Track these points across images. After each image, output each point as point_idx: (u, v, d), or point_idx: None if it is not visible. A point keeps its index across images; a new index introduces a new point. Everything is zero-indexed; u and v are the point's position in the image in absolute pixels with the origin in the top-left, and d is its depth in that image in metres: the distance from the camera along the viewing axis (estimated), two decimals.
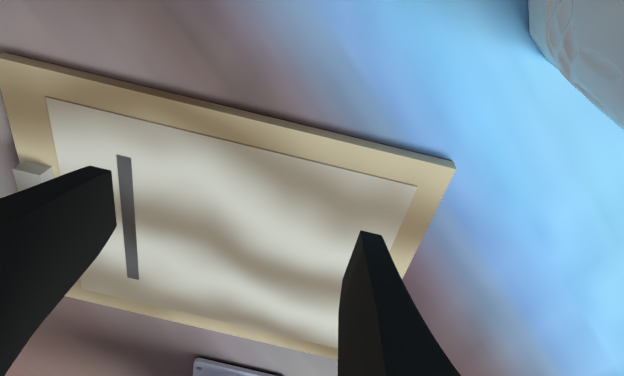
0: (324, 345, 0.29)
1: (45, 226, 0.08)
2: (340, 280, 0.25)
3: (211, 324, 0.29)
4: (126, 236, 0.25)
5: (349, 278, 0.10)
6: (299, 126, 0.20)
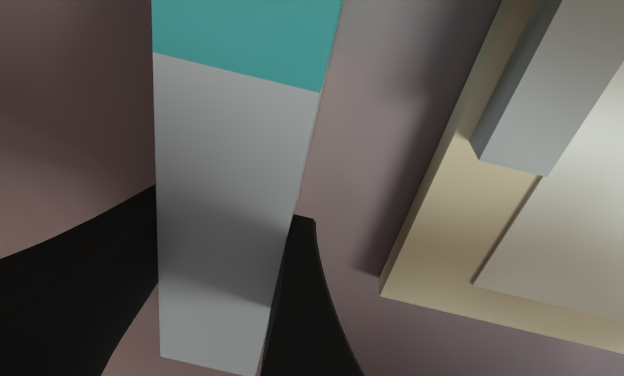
0: None
1: (131, 246, 0.08)
2: None
3: None
4: None
5: None
6: None
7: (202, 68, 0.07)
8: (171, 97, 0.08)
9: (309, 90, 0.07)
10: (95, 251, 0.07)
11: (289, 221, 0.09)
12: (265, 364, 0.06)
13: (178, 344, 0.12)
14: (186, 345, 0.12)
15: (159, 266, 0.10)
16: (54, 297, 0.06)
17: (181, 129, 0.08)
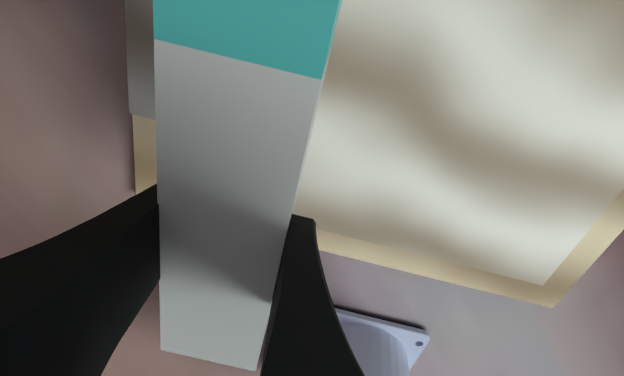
0: (512, 278, 0.21)
1: (131, 246, 0.08)
2: (583, 168, 0.17)
3: (355, 249, 0.21)
4: None
5: (280, 262, 0.10)
6: None
7: (203, 54, 0.07)
8: (172, 85, 0.08)
9: (310, 77, 0.07)
10: (95, 251, 0.07)
11: (290, 211, 0.09)
12: (265, 364, 0.06)
13: (178, 337, 0.12)
14: (186, 338, 0.12)
15: (160, 258, 0.10)
16: (54, 297, 0.06)
17: (182, 117, 0.08)
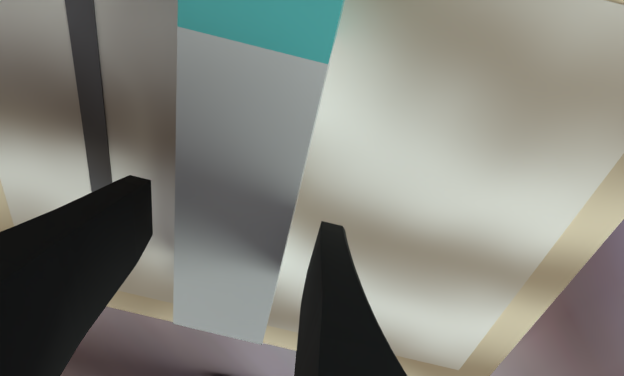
0: (423, 361, 0.18)
1: (94, 238, 0.08)
2: (481, 249, 0.14)
3: None
4: (94, 170, 0.14)
5: (310, 269, 0.10)
6: None
7: (222, 41, 0.08)
8: (193, 69, 0.08)
9: (318, 61, 0.08)
10: (53, 241, 0.07)
11: (298, 187, 0.10)
12: None
13: (190, 311, 0.13)
14: (198, 311, 0.13)
15: (175, 233, 0.11)
16: (4, 285, 0.06)
17: (201, 99, 0.09)
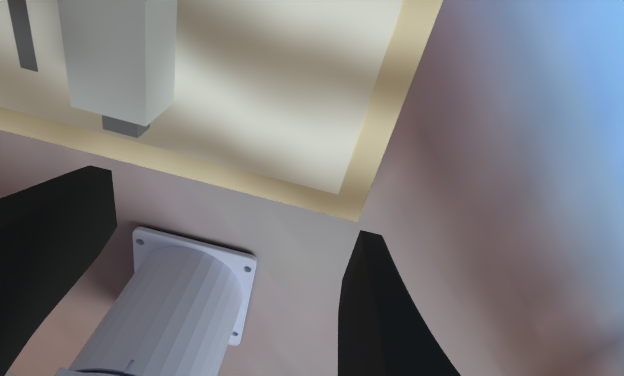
0: (308, 187, 0.20)
1: (45, 226, 0.08)
2: (332, 52, 0.16)
3: (149, 157, 0.20)
4: None
5: (349, 278, 0.10)
6: None
7: None
8: None
9: None
10: None
11: None
12: None
13: (83, 89, 0.15)
14: (89, 90, 0.15)
15: None
16: None
17: None
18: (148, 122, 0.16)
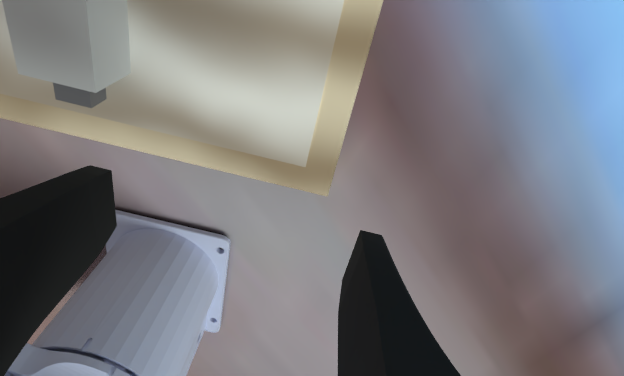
0: (274, 160, 0.20)
1: (45, 226, 0.08)
2: (287, 12, 0.16)
3: (111, 133, 0.20)
4: None
5: (349, 278, 0.10)
6: None
7: None
8: None
9: None
10: None
11: None
12: None
13: (28, 54, 0.15)
14: (34, 55, 0.15)
15: None
16: None
17: None
18: (98, 89, 0.16)
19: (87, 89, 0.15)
